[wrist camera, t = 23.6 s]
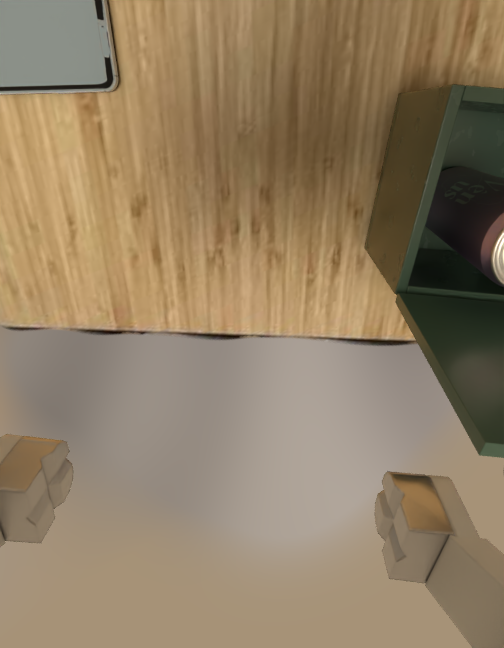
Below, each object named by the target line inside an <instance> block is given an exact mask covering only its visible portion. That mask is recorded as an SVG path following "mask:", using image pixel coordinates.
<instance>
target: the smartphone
mask: <svg viewBox="0 0 504 648" xmlns="http://www.w3.org/2000/svg"><path fill="white" fill-rule="evenodd" d="M117 85H118V72H117V65H116V58H115V52H114V45H113V38H112V31H111V25H110V18H109V11H108V5H107V0H0V95H5V94H44V93H58V94H66V93H84V92H111V91H113V90H114V89H115V88H116V87H117Z"/></svg>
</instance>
